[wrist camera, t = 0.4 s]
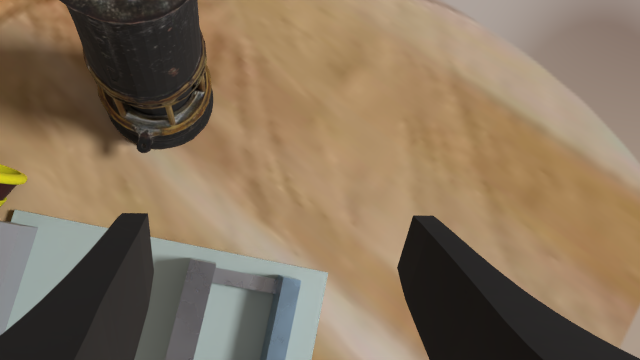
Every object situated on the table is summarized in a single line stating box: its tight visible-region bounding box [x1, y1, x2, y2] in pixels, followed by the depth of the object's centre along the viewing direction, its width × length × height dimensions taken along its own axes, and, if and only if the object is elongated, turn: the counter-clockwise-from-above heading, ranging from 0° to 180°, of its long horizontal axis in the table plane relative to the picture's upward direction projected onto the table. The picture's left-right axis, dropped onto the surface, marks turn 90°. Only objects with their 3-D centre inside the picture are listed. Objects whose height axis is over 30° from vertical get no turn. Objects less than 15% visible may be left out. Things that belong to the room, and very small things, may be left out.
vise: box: [0, 210, 328, 360], centre depth 35 cm, size 12×26×4 cm, turn 78°
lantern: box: [60, 0, 213, 153], centre depth 25 cm, size 9×9×30 cm
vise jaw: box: [165, 258, 301, 360], centre depth 36 cm, size 10×9×4 cm
